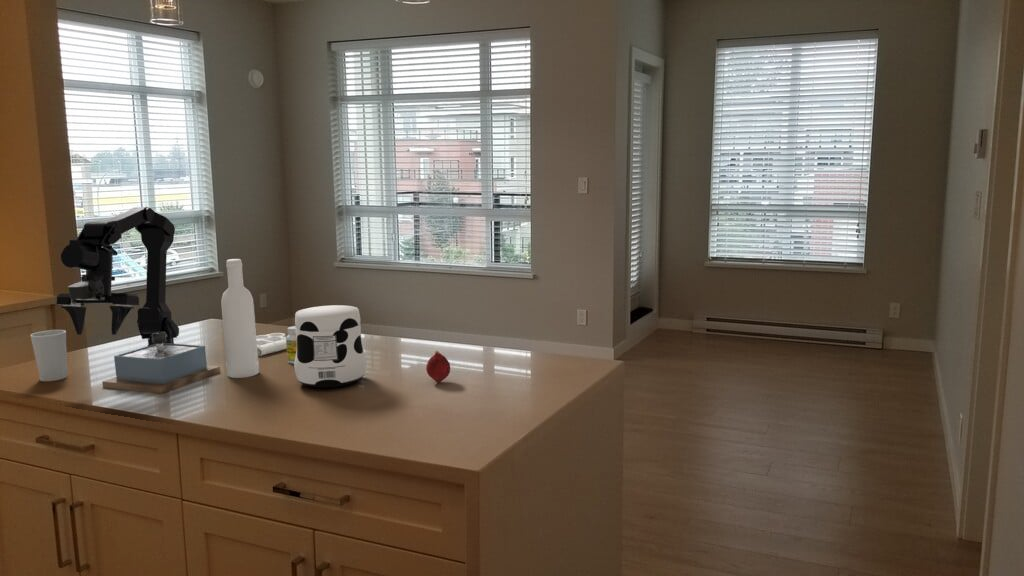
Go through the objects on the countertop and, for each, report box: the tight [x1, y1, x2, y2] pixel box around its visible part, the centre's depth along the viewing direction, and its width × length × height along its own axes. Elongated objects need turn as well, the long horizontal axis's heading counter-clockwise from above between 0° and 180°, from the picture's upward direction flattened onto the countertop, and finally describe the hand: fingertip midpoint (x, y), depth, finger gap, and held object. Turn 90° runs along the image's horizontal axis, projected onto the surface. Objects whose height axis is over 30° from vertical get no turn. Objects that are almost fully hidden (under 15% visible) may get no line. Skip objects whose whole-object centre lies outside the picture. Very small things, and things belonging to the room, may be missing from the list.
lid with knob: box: [123, 332, 198, 359], centre depth 200 cm, size 13×13×6 cm
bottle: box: [220, 258, 260, 379], centre depth 202 cm, size 8×8×30 cm
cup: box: [30, 329, 69, 382], centre depth 205 cm, size 8×8×12 cm
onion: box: [425, 350, 451, 384], centre depth 192 cm, size 6×6×8 cm
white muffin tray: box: [256, 332, 287, 357], centre depth 231 cm, size 3×18×15 cm
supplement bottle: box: [285, 325, 297, 365], centre depth 216 cm, size 5×5×10 cm
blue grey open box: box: [113, 343, 208, 384], centre depth 201 cm, size 15×17×6 cm
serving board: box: [101, 364, 221, 394], centre depth 201 cm, size 20×19×2 cm
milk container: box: [293, 304, 367, 388], centre depth 194 cm, size 17×17×18 cm
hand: (96, 334), depth 194 cm, fingers open, 9 cm apart
